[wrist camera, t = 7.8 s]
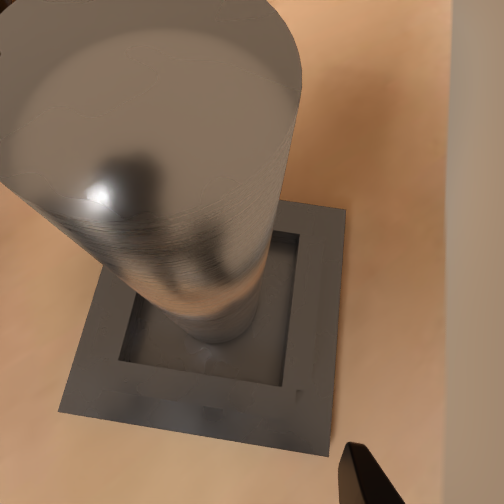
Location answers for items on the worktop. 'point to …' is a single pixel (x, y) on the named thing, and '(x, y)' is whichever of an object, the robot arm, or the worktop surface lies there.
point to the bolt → (4, 4)
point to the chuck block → (225, 350)
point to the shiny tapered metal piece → (155, 141)
